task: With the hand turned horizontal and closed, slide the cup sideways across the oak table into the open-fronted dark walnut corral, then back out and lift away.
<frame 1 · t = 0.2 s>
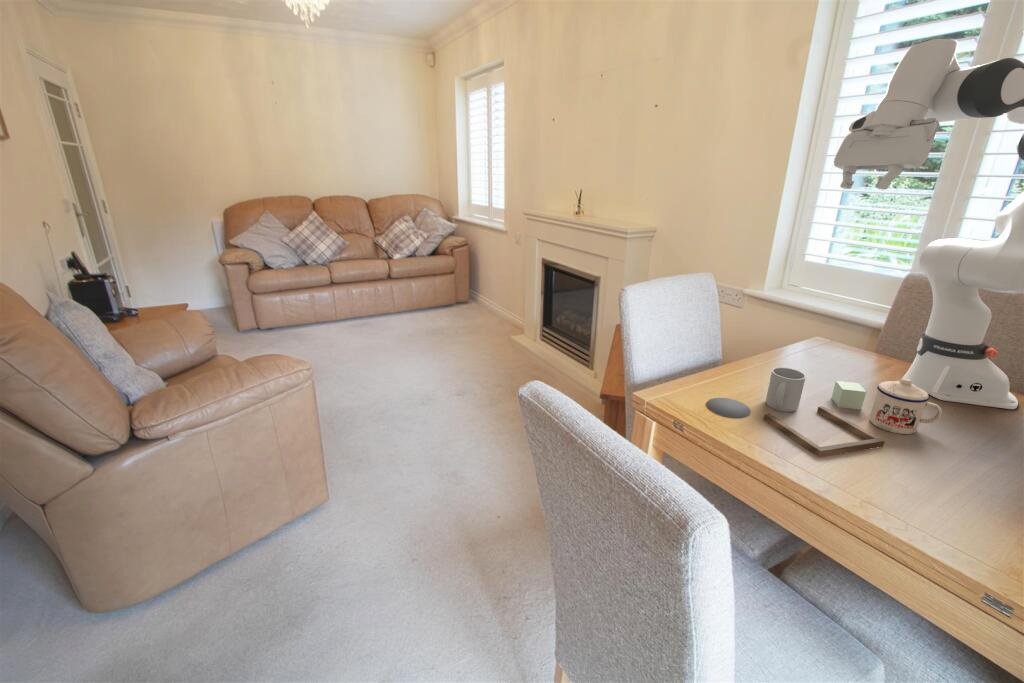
hand: (862, 188, 102), 52 cm above the table, tool tilted 20°, fingers open, 8 cm apart
teacup with lid: (899, 427, 106), on the table
corral: (816, 430, 104), on the table
cup: (779, 408, 115), on the table
sage box: (845, 404, 116), on the table
slate coaster: (727, 409, 115), on the table
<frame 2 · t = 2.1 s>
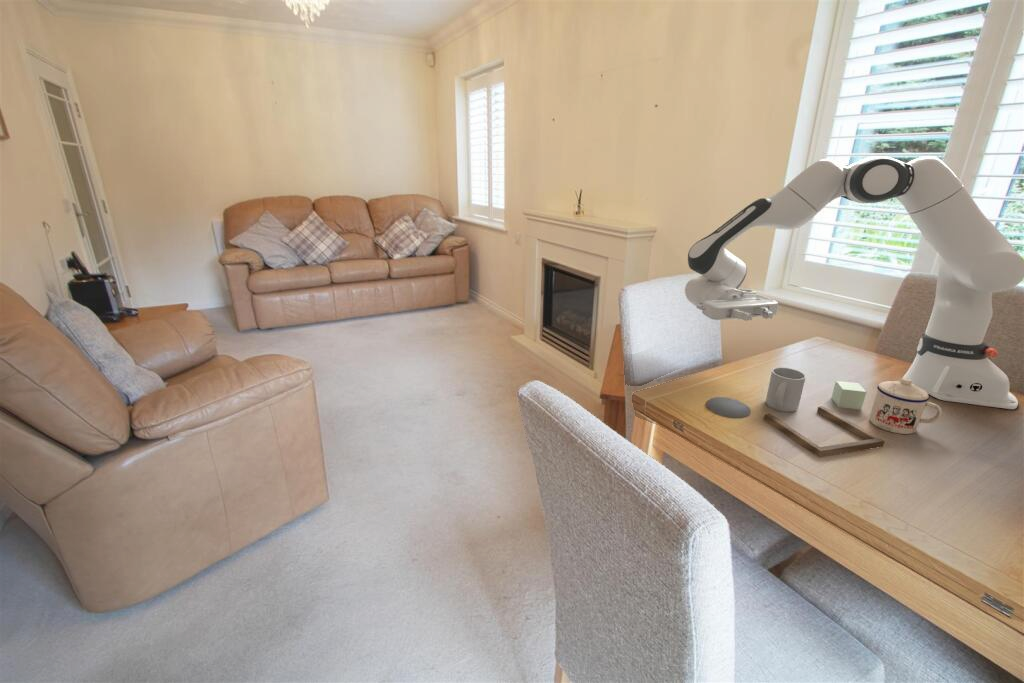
hand: (760, 316, 119), 20 cm above the table, tool horizontal, fingers open, 5 cm apart
nothing on the table moved.
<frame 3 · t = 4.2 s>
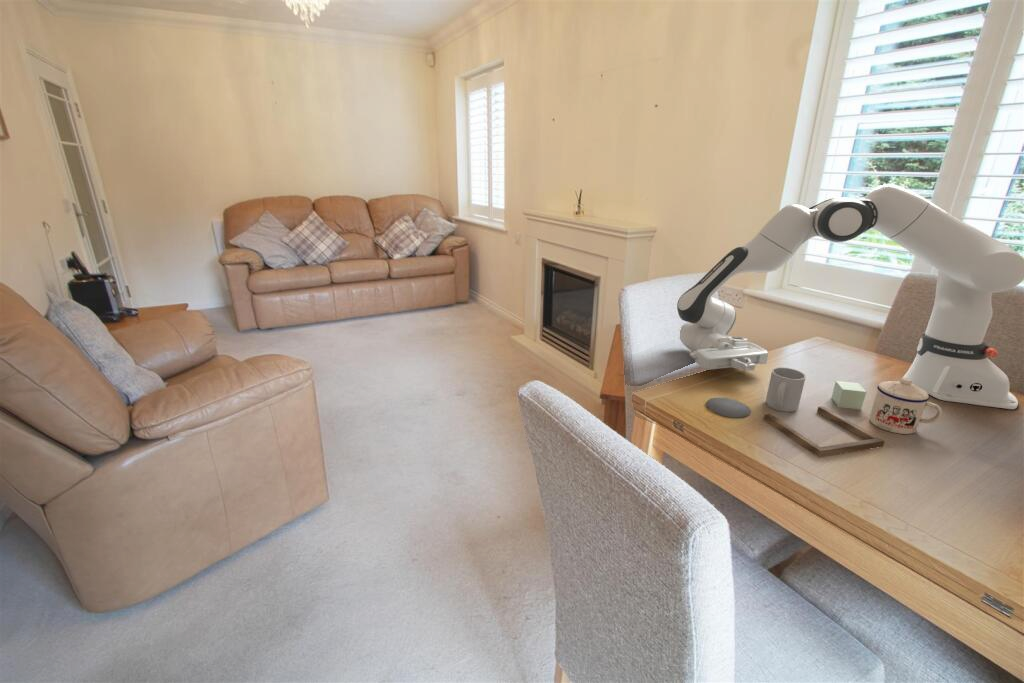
hand: (750, 368, 124), 6 cm above the table, tool horizontal, fingers closed
nothing on the table moved.
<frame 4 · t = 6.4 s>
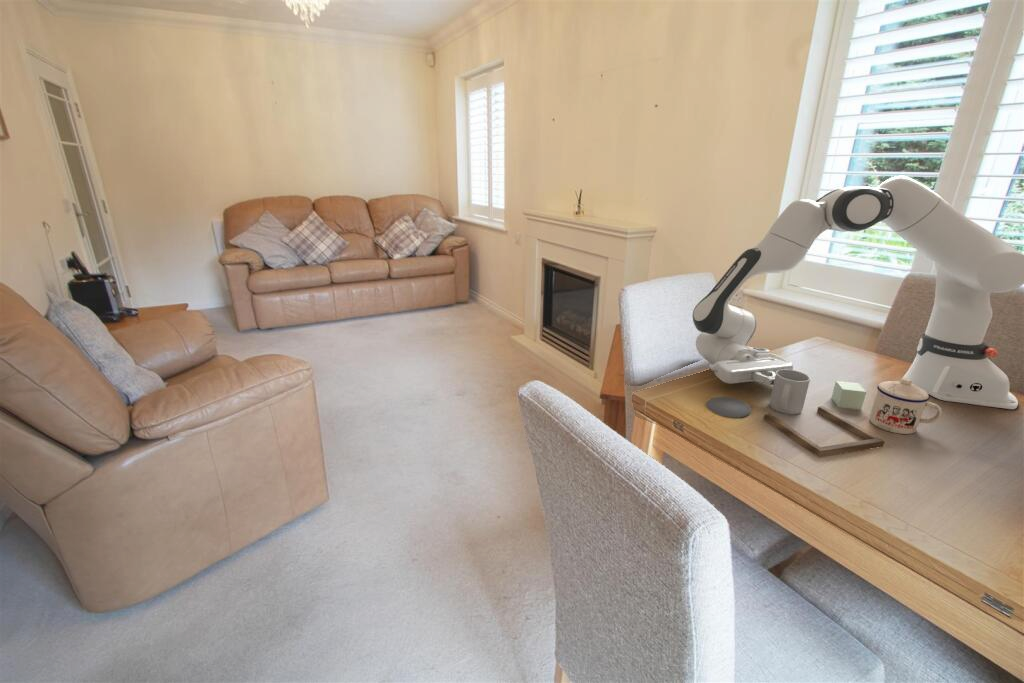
hand: (775, 382, 115), 5 cm above the table, tool horizontal, fingers closed
cup: (783, 410, 113), on the table, touching gripper
everything else where it was.
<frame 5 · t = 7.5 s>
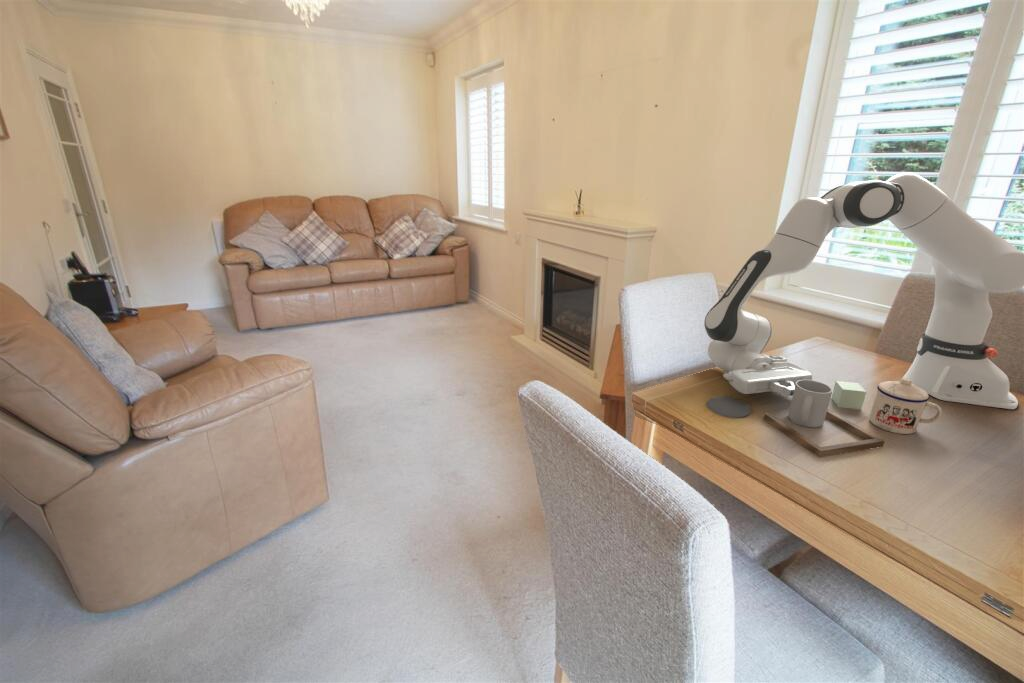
hand: (794, 393, 110), 6 cm above the table, tool horizontal, fingers closed
cup: (804, 423, 108), on the table, touching gripper
everything else where it was.
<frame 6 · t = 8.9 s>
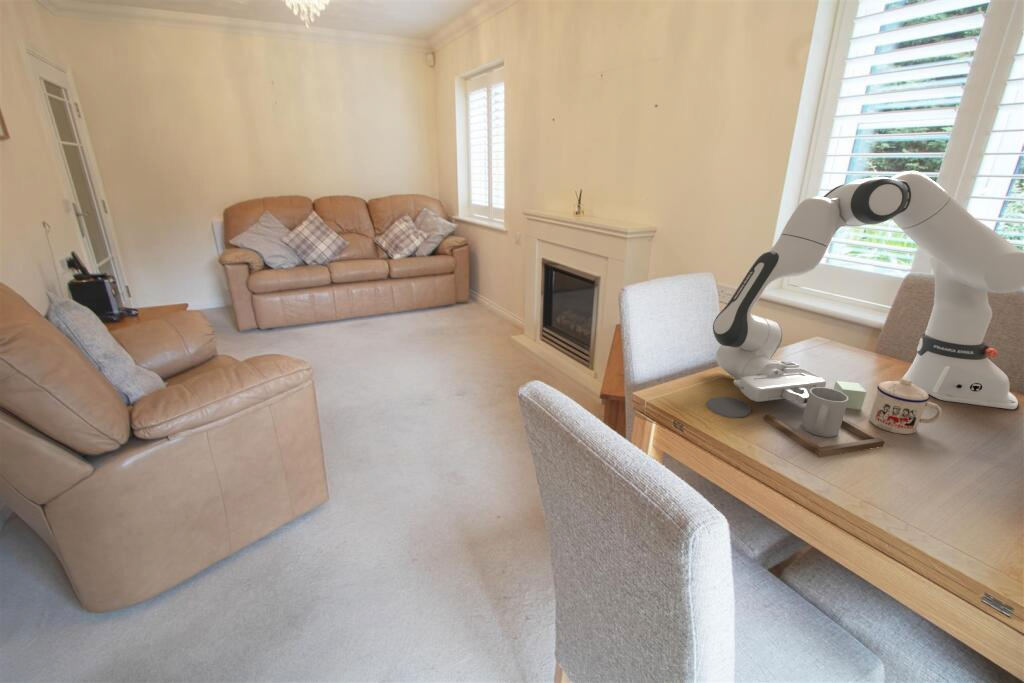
hand: (808, 400, 106), 6 cm above the table, tool horizontal, fingers closed
cup: (818, 432, 104), on the table, touching gripper
everything else where it was.
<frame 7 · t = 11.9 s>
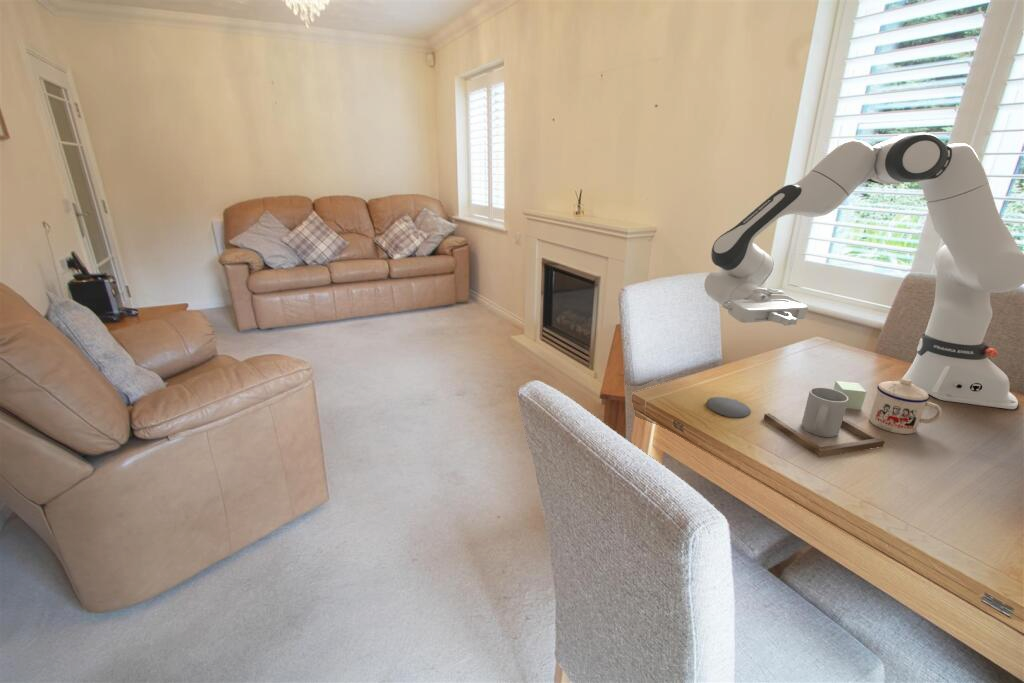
hand: (792, 322, 111), 21 cm above the table, tool horizontal, fingers closed
cup: (818, 432, 104), on the table
everything else where it was.
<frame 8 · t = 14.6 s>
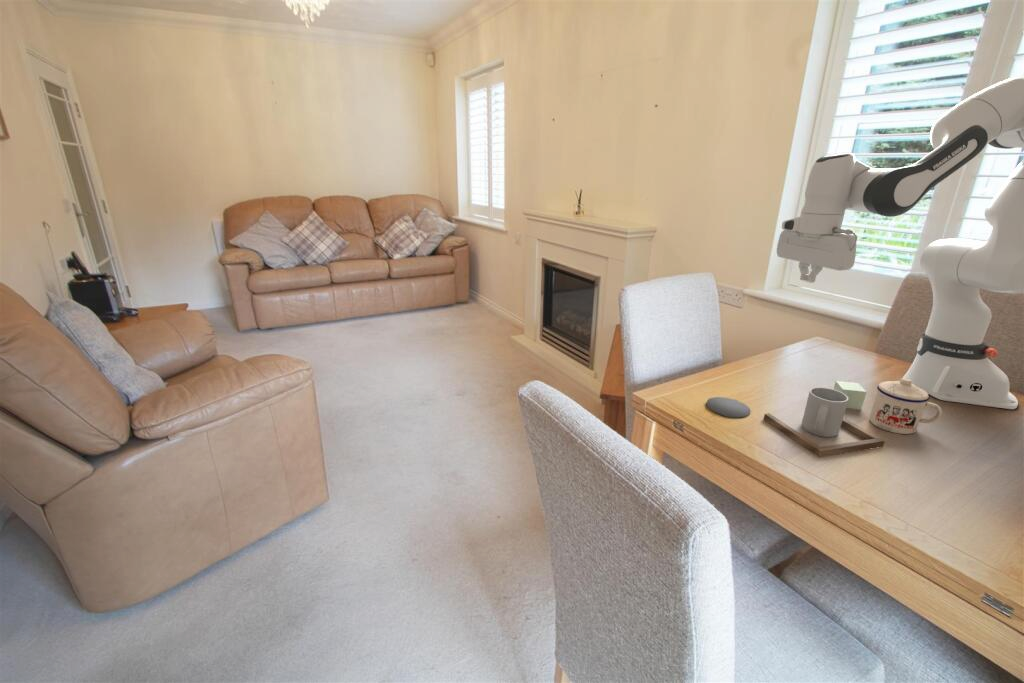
hand: (807, 281, 116), 29 cm above the table, tool pointing down, fingers closed
nothing on the table moved.
at the end: cup 0.6 cm from the corral (horizontally); cup tilted 0°; cup moved 11.6 cm from its start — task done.
